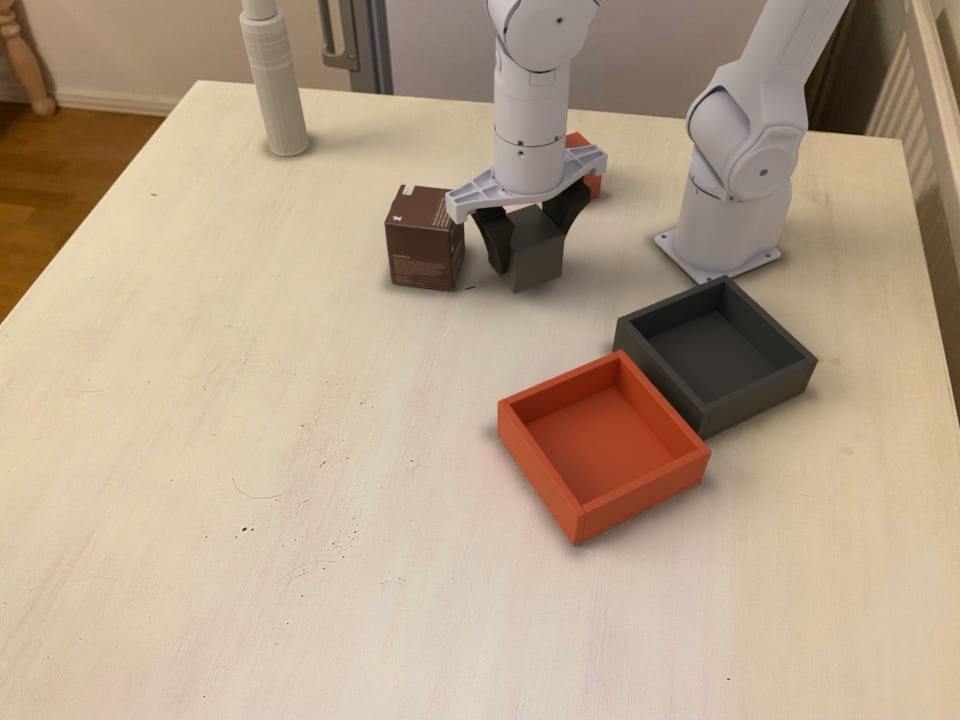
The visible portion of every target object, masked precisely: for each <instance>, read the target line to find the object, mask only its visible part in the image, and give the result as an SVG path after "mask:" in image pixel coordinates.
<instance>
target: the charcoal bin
mask: <svg viewBox="0 0 960 720" xmlns="http://www.w3.org/2000/svg"><path fill="white" fill-rule="evenodd" d="M615 325H616V326H615V332H614V337H613V343H612V350H611V353H613V352H616V351H618V350H621V349H622V350H623V351H624V352H625V353H626V354H627V355H628V357H629V358H630V359H631V360H632V361H633V362H634V363H635V365H636V366H637V367H638V368H639V369H640V370H641V371H642V373H643V374H644V375H645V376H646V377H647V378H648V379H649V381H650V382H651V383H652V384H653V385H654V386H655V387H656V389H657V390H658V391H659V392H660V393H661V394H662V395H663V396H664V398H665V399H666V400H667V401H668V402H669V403H670V404H671V406H672V407H673V408H674V409H675V410H676V411H677V412H678V414H679V415H680V416H681V417H682V418H683V419H684V420H685V422H686V423H687V424H688V425H689V426H690V427H691V428H692V429H693V431H694V432H695V433H696V434H697V435H698V436H699V437H700V439H701V440H702V441H703V442H704V441H706V440H708V439H710V438H713V437H714V436H717V435H719V434H721V433H723V432H725V431H727V430H729V429H731V428H733V427H736V426H738V425H740V424H741V423H744V422H746V421H748V420H750V419H752V418H754V417H756V416H758V415H760V414H763V413H764V412H766V411H769V410H770V409H773V408H775V407H777V406H779V405H781V404H783V403H785V402H787V401H790V400H791V399H794V398H795V397H798V396H800V395H801V394H804V393H805V392H806V390H807V387H808V385H809V383H810V380H811V378H812V377H813V374H814V372H815V370H816V367H817V365H818V363H819V360H820V359H818V358H817V357H816V356H815V355H814V353H812V352H811V351H810V350H809V349H808V348H807V347H805V345H804V344H802V343H801V342H800V341H799V340H798V338H796V337H794V335H792V333H790V331H788V329H786V328H785V327H784V326H783V325H782V324H781V323H780V322H779V321H777V320H776V319H775V317H774V316H772V315H771V314H769V313H768V311H767V310H766V309H764V307H762V306H761V305H760V304H759V303H758V301H756V300H755V299H754V298H753V297H752V296H751V295H749V294H748V293H747V292H746V291H745V290H744V289H743V288H742V287H741V286H740V285H738V284H737V283H736V282H735V281H734V280H733V279H732V277H731V278H729V277H728V276H727V275H726V274H725V275H723V276H720V277H718V278H715V279H713V280H711V281H708V282H706V283H703V284H701V285H699V284H698V285H696V286H693V287H691V288H689V289H687V290H684V291H681V292H679V293H677V294H674V295H671V296H669V297H667V298H664V299H661V300H660V301H657V302H654V303H652V304H649V305H647V306H645V307H642V308H639V309H637V310H635V311H633V312H630V313H627V314H625V315H623V316H619V317H617V319H616V323H615Z"/></svg>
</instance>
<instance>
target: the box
mask: <svg viewBox="0 0 960 720" xmlns="http://www.w3.org/2000/svg"><path fill="white" fill-rule="evenodd" d="M452 190H454V189H450V188H443V187H441V188H440V187H434V186H433V187H432V186H426V185H425V186H423V185H416V184H414V185H413V184H400V186H399V188H398V190H397V192H396V195H395V197H394V198H393V200H392V202H391V204H390V209H389V211H388V213H387V215H386V217H385V219H384V223H383V225H384V232H385V234H384V235H385V242H386V251H387V259H388V265H389V273H390V274H389V275H390V282H391V283H392V284H394V285H402V286H411V287H418V288H428V289H433V290H434V289H435V290H441V291H453V289H454V287H455V285H456V282H457V279H458V277H459V273H460V269H461V266H462V264H463V260H464V257H465V254H466V239H465V238H466V235H465V222H463V223H460V224H456V223H455V222H454V221H453V220H452V219H451V217H450V216H449V215H448V213H447V212H446V200H445V193H447V192H450V191H452Z"/></svg>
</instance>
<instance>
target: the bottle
mask: <svg viewBox="0 0 960 720" xmlns="http://www.w3.org/2000/svg"><path fill="white" fill-rule="evenodd" d="M240 1H241V4H242V5H241V6H242V9H243V11H242V12H241V13H240V14H239V18H238V21H239V24H240V28H241V33H242V36H243V40H244V45H245V49H246V53H247V58H248V62H249V66H250V69H251V73H252V78H253V83H254V87H255V92H256V95H257V100H258V104H259V108H260V113H261V118H262V121H263V125H264V129H265V134H266V138H267V143H268V146H269V149H270V151H271V152H272V153H273V154H275V155H277V156H279V157H293V156H297V155H300V154H301V153H303V152H304V151H306V150H307V149H308V147H309V143H310V142H309V141H310V140H309V136H308V131H307V125H306V121H305V115H304V111H303V110H304V109H303V106H302V101H301V99H302V98H301V95H300V90H299V84H298V79H297V75H296V68H295V64H294V60H293V54H292V49H291V48H292V47H291V43H290V38H289V33H288V27H287V22H286V18H285V12H284V11H283V9H282V8H280V7H279V6H277V3H276V0H240Z"/></svg>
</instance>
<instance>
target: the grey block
mask: <svg viewBox="0 0 960 720" xmlns="http://www.w3.org/2000/svg"><path fill="white" fill-rule="evenodd" d="M506 216H507V217H508V218H509V219H510V220H511V221H512V222H513V223H514V225H515V226H516V227H515V229H514V231H513V234H512V237H511V241H510V246H509V263H508V269H507V272H506V273H505V274H502V275H500V274H499V273H498V272H497V271H496V270H495V268H494V267H493V266H492V265H491V263H490V260H489V256H488V255H487V263H488V264H489V265H490V266H491V268H492V269H493V270H494V271H495V272H496V274H497V275H498V277H500V279H501V280H502V281H503V282H504V284H505V285H506V286H507V287H508V289H509V290H510V291H511V292H512V293H513V295H516V294H519V293H521V292H524V291H527V290H530V289H533V288H534V287H538V286H541V285H543V284H546V283H548V282H550V281H554V280H555V279H556V280H557V279H558V278H561V277H562V275H563V264H564V263H563V262H564V254H565V253H564V252H565V240H566V238H565V234H564V232H563V231H562V230H561V229H560V228H559V227H558V226H557V225H556V224H555V223H554V222H553V221H552V220H551V219H550V218H549V216H548V215H547V214H546V213H545V212H544V211H543V210H542V207H540V205H538V203H531V204H529V205H527V206H524V207H521V208H518V209H516V210H512V211H510V212H506Z"/></svg>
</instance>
